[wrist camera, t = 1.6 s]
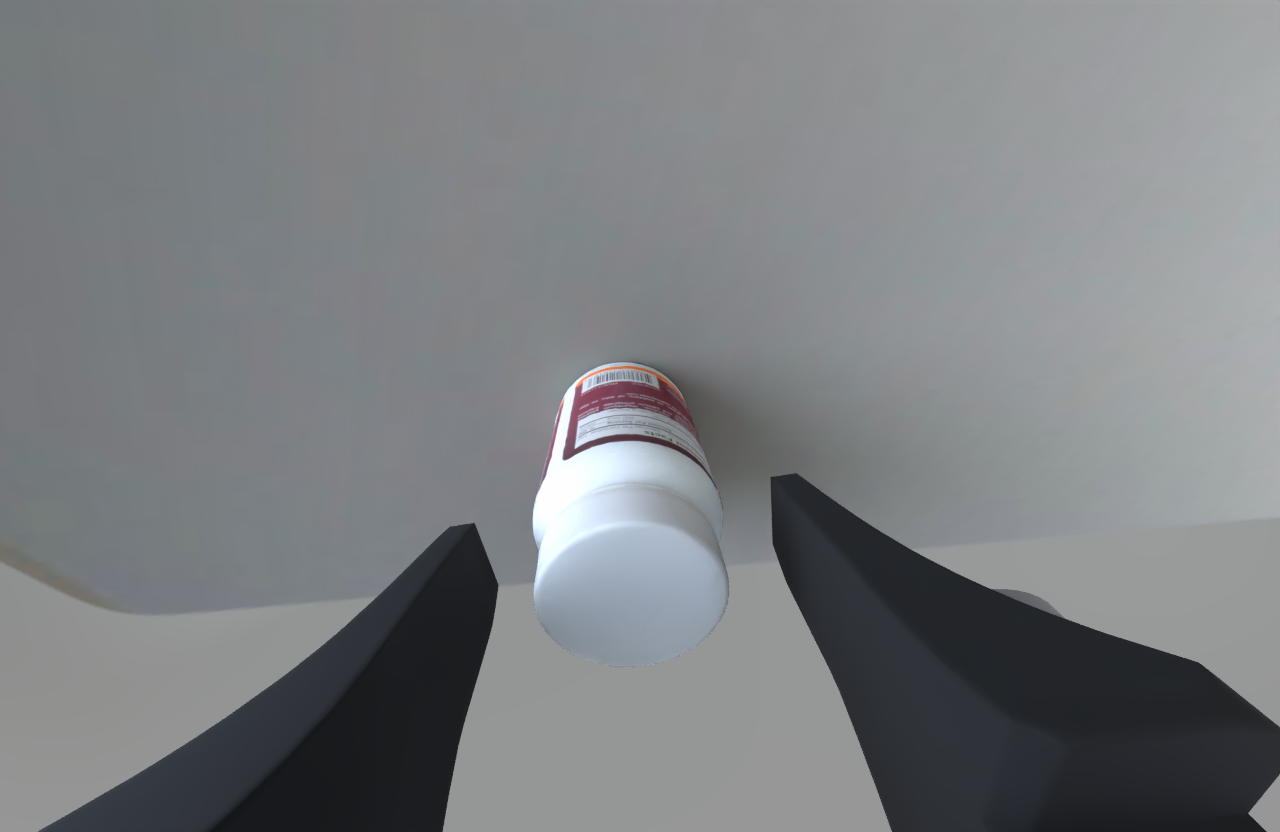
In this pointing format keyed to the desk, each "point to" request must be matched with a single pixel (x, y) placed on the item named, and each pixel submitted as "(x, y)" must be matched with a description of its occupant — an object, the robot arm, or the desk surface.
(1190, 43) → the desk surface
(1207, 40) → the desk surface
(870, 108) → the desk surface
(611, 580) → the pill bottle
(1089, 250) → the desk surface
